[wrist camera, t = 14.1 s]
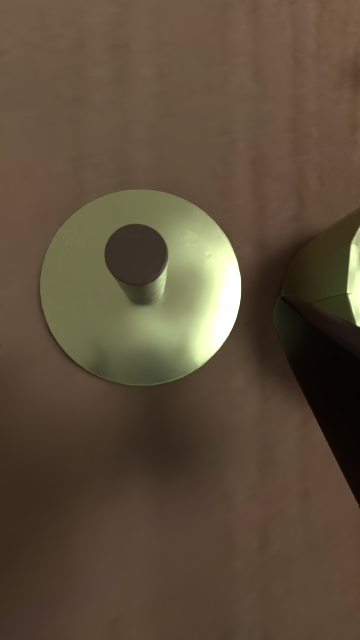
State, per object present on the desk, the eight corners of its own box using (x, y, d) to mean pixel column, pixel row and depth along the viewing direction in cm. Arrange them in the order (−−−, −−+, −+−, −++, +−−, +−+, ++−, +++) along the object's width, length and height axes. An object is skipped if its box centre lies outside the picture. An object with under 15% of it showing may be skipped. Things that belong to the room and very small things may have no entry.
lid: (255, 356, 17) (317, 366, 11) (69, 404, 16) (7, 449, 9) (211, 184, 18) (242, 92, 11) (30, 217, 17) (-53, 135, 10)
